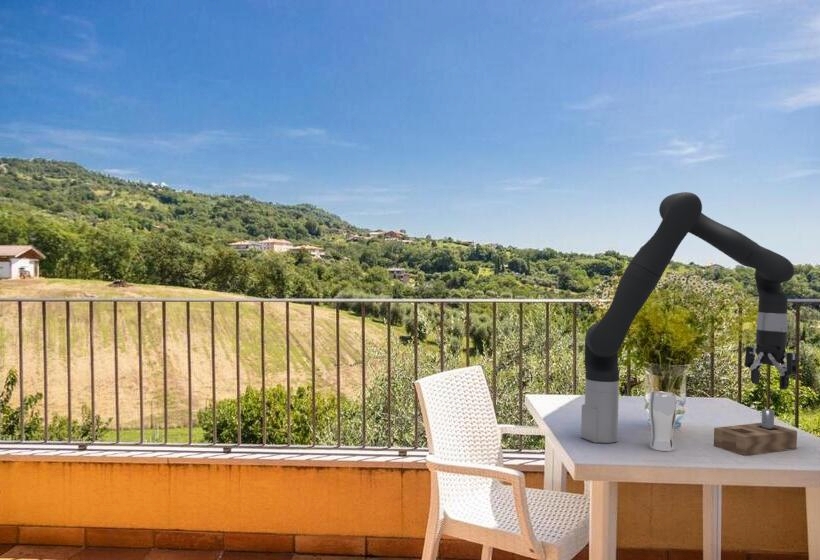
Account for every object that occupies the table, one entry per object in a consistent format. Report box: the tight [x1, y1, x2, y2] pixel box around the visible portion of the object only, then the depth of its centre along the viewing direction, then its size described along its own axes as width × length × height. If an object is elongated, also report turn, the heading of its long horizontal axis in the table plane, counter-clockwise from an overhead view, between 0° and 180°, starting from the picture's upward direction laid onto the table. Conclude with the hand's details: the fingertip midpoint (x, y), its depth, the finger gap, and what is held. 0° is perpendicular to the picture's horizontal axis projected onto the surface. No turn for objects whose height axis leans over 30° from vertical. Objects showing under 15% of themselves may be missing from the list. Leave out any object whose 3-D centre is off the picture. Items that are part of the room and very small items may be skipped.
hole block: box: [713, 422, 798, 457], centre depth 175 cm, size 20×10×5 cm, turn 113°
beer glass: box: [648, 390, 678, 452], centre depth 172 cm, size 7×7×15 cm
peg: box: [761, 408, 775, 430], centre depth 177 cm, size 3×3×10 cm
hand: (769, 386), depth 177 cm, fingers open, 8 cm apart
